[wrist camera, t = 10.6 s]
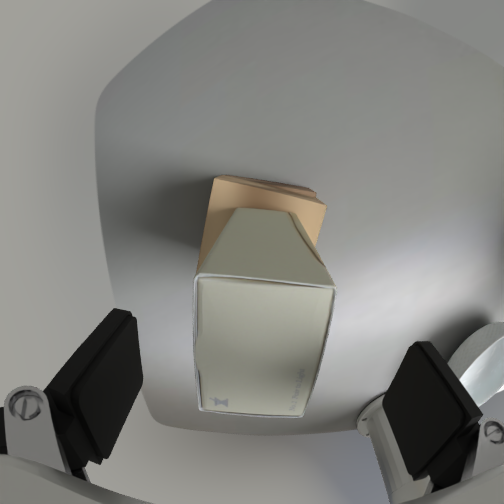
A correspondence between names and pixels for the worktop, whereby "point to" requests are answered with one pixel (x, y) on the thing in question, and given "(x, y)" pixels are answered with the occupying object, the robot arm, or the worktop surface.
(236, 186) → the oak top block
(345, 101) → the worktop surface
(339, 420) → the worktop surface
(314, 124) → the worktop surface
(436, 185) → the worktop surface
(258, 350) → the skincare box
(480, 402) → the cereal bowl
